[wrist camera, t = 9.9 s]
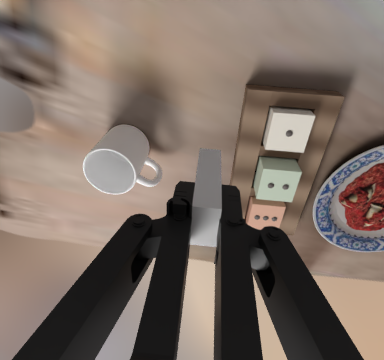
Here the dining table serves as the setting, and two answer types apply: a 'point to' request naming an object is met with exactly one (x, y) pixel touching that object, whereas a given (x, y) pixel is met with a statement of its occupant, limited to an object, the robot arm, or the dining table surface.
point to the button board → (308, 161)
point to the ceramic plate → (353, 204)
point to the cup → (120, 161)
